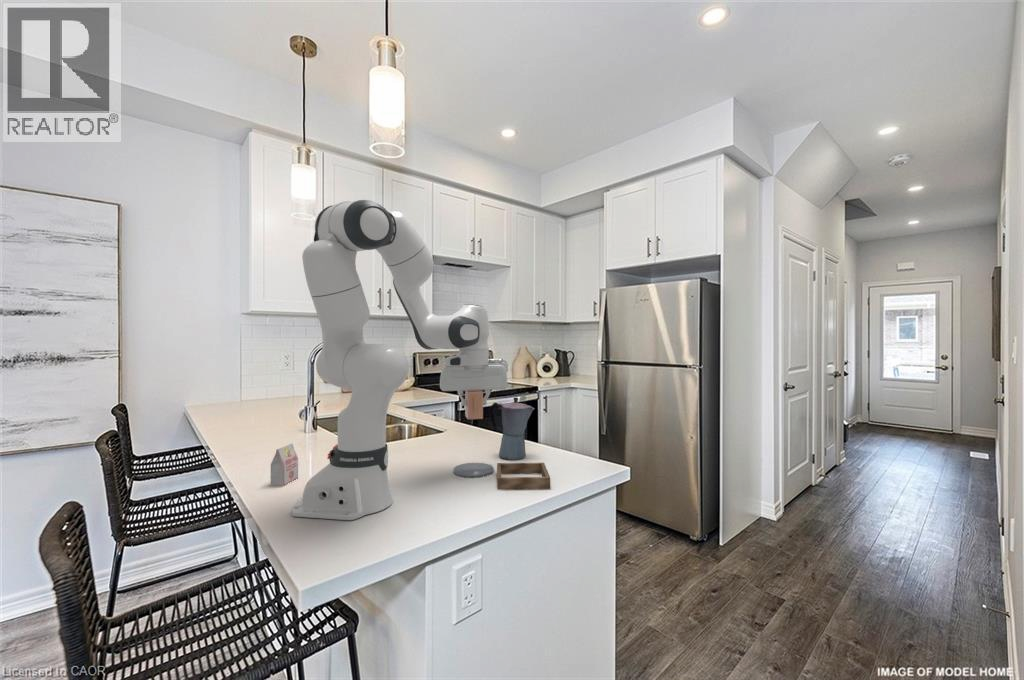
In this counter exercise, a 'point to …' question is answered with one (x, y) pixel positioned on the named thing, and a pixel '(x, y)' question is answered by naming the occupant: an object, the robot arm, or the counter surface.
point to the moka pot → (512, 428)
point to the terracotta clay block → (474, 404)
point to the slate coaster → (473, 470)
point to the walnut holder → (522, 481)
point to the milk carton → (284, 466)
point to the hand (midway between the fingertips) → (473, 405)
